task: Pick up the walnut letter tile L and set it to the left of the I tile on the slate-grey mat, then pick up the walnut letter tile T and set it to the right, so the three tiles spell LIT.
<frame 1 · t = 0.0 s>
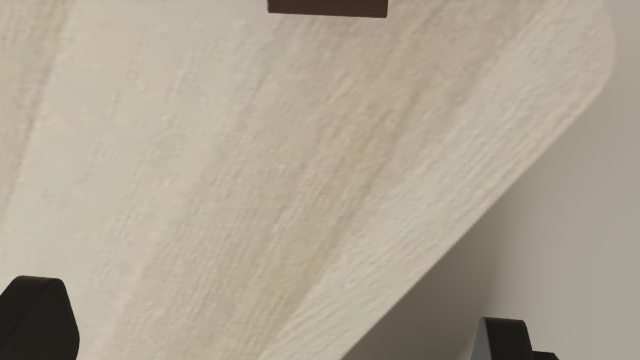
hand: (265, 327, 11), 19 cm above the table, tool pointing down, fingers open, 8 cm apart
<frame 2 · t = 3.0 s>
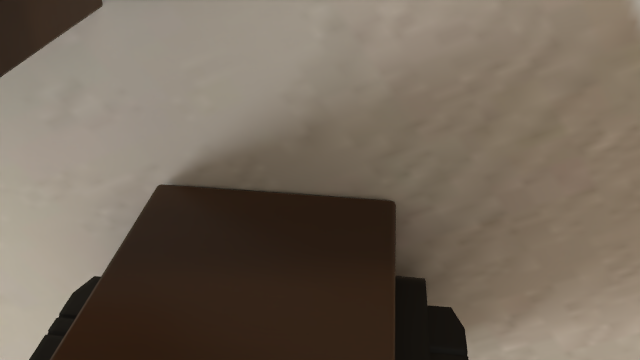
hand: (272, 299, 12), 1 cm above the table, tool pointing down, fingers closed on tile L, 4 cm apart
tile L: (278, 280, 13), on the table, touching gripper
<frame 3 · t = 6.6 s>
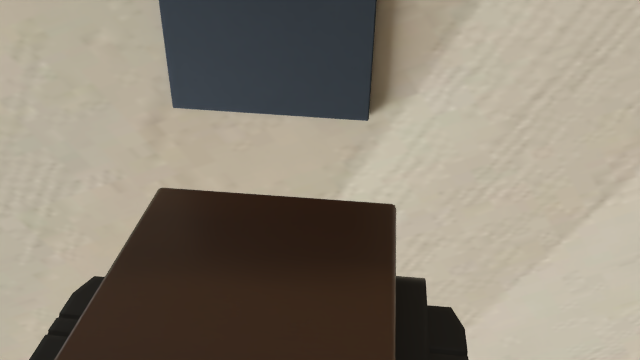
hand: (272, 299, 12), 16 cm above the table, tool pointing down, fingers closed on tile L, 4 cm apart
tile L: (278, 283, 13), point 15 cm above the table, touching gripper
when the fingers open (1 cm above the table, at t = 10.5 s): tile L stays where it is, resting on mat.
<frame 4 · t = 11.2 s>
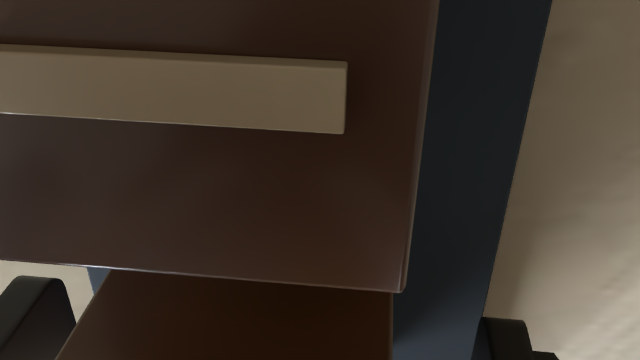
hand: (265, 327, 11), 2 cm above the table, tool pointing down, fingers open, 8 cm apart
tile L: (280, 272, 13), resting on mat
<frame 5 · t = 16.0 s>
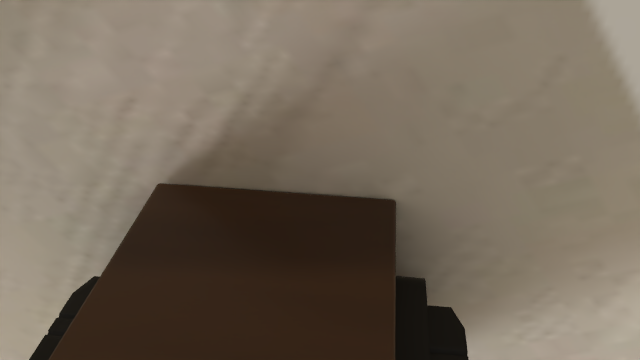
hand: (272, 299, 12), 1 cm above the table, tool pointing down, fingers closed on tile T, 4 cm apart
tile T: (278, 280, 13), on the table, touching gripper
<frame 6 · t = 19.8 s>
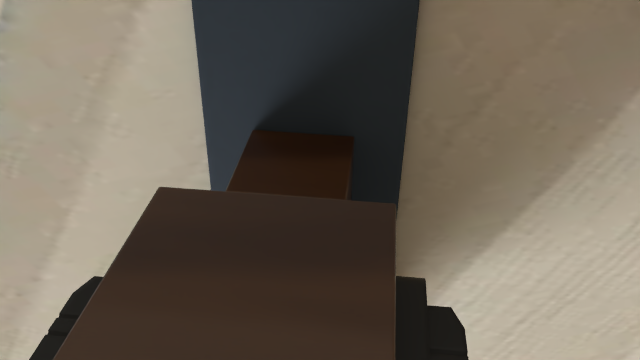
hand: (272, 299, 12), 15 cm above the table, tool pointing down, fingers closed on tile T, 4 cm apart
tile T: (278, 283, 13), point 14 cm above the table, touching gripper
tile I: (303, 176, 28), resting on mat
mat: (304, 171, 28), on the table
when the fingers open (1 cm above the table, at t = 23.4 s): tile T stays where it is, resting on mat.
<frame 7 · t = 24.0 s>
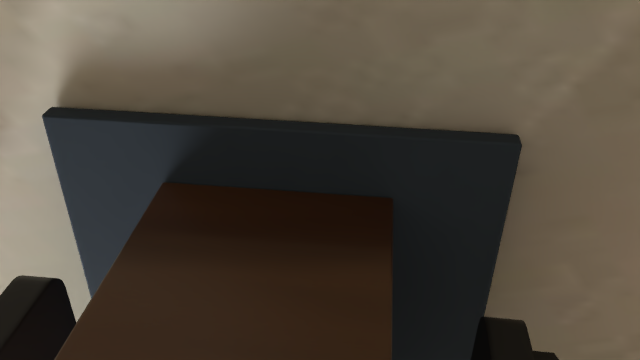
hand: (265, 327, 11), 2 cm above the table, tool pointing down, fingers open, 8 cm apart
tile T: (279, 277, 13), resting on mat
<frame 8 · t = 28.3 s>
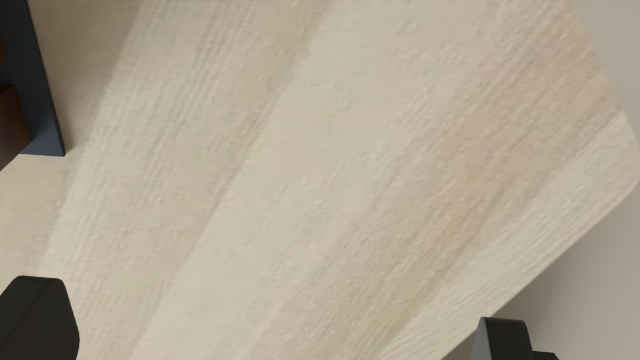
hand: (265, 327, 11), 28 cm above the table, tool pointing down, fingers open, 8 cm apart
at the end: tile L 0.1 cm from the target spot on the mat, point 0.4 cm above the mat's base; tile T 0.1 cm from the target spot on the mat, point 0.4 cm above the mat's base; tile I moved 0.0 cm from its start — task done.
